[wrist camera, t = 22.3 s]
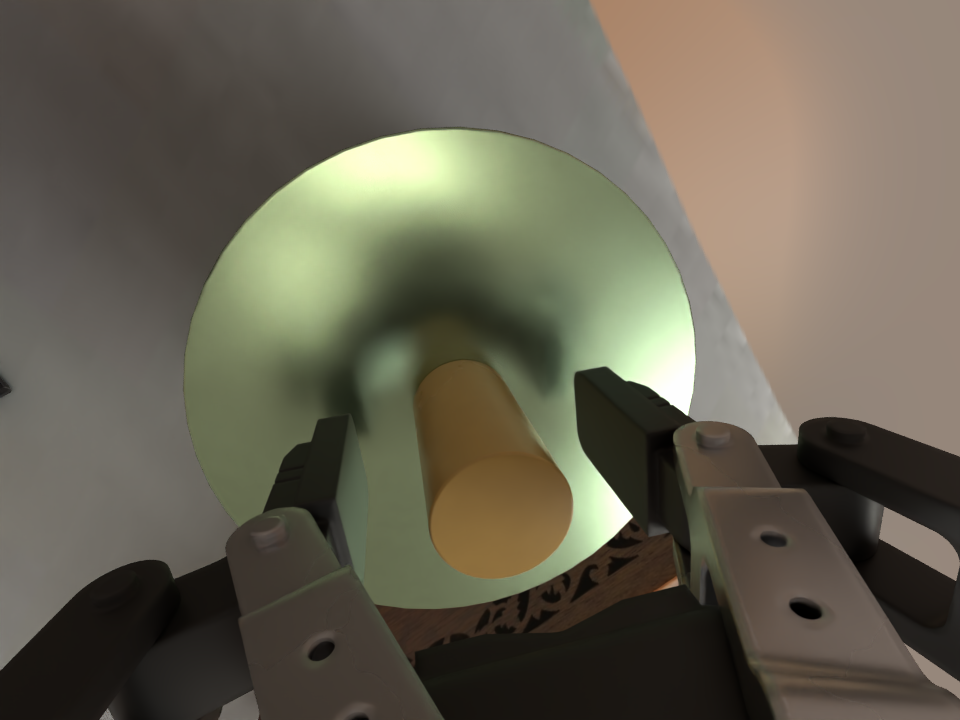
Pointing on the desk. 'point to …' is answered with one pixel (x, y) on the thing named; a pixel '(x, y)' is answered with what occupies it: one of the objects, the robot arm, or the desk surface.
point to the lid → (438, 351)
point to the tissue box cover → (547, 596)
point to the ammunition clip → (4, 388)
